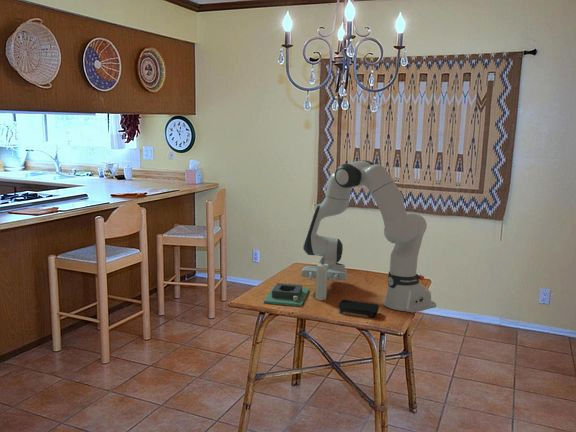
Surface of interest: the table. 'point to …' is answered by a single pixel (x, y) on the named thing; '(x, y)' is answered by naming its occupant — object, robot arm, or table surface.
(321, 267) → the plug
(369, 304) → the black scrub brush
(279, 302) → the board
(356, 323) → the table surface
